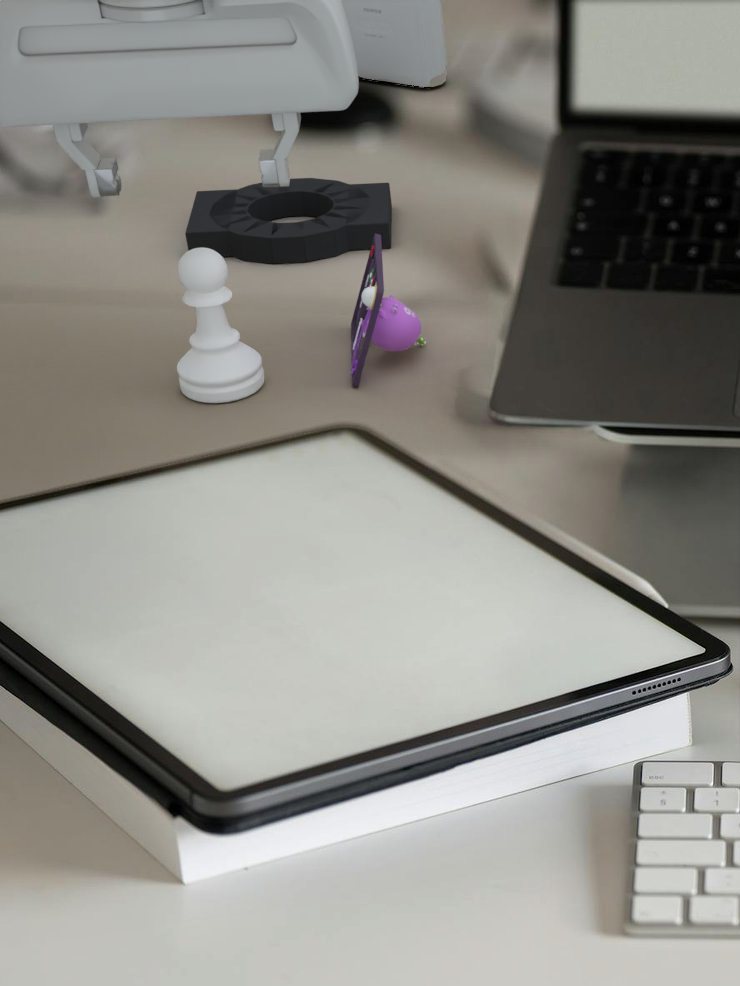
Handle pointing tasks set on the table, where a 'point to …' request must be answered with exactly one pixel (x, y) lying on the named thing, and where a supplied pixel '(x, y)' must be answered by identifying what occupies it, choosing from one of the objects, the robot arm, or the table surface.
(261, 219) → the socket pad
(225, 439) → the table surface
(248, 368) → the chess pawn
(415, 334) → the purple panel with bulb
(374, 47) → the photo printer
